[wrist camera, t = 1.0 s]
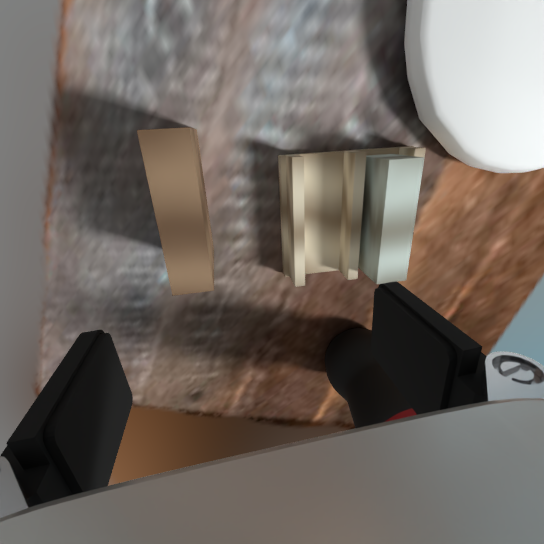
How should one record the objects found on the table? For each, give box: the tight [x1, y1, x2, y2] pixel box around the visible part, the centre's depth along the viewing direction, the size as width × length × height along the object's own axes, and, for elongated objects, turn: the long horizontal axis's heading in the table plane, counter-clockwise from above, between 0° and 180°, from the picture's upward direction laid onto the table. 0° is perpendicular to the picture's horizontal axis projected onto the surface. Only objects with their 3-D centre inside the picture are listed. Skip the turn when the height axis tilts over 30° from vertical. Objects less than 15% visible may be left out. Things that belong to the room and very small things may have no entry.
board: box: [137, 127, 214, 296], centre depth 24 cm, size 11×3×9 cm, turn 3°
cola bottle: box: [325, 328, 417, 428], centre depth 26 cm, size 8×8×30 cm
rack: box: [278, 146, 426, 287], centre depth 29 cm, size 12×13×6 cm
